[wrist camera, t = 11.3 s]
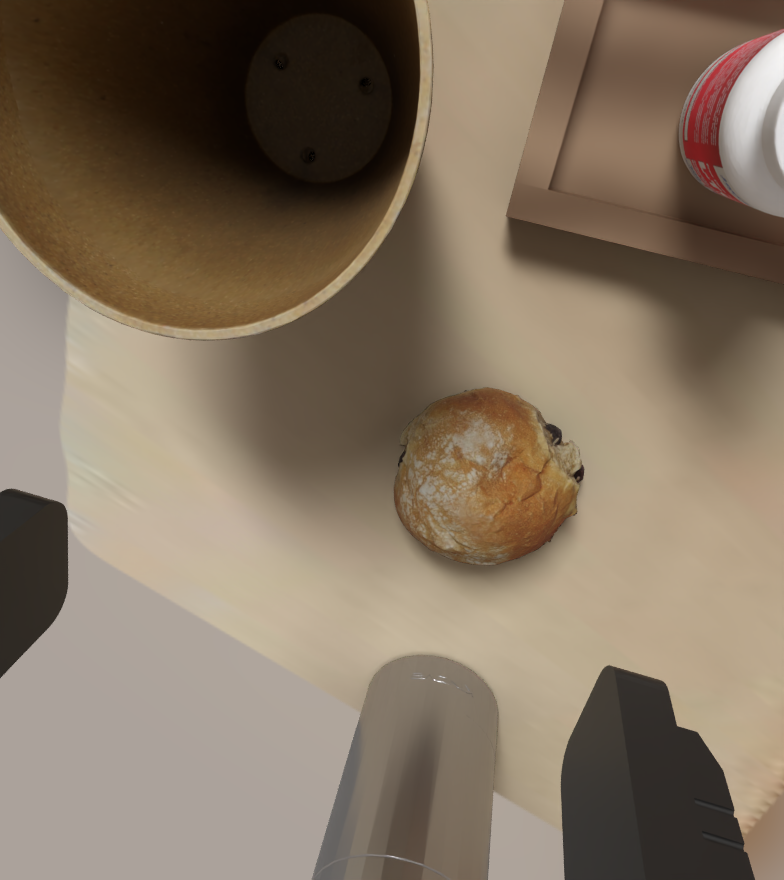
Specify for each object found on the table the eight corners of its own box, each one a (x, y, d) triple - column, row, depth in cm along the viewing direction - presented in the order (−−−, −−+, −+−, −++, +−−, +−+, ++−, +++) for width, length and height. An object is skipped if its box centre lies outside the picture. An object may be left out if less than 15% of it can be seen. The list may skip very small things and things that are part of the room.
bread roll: (448, 355, 41) (366, 389, 35) (614, 404, 36) (551, 454, 30) (431, 497, 45) (355, 549, 39) (577, 559, 40) (515, 630, 34)
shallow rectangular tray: (881, 301, 32) (907, 314, 30) (507, 210, 34) (505, 216, 31) (1041, 5, 27) (1088, -5, 25) (588, -89, 28) (593, -107, 26)
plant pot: (500, 224, 34) (475, 298, 20) (229, 277, 38) (43, 371, 23) (446, -144, 28) (357, -415, 14) (135, -39, 32) (-186, -167, 18)
